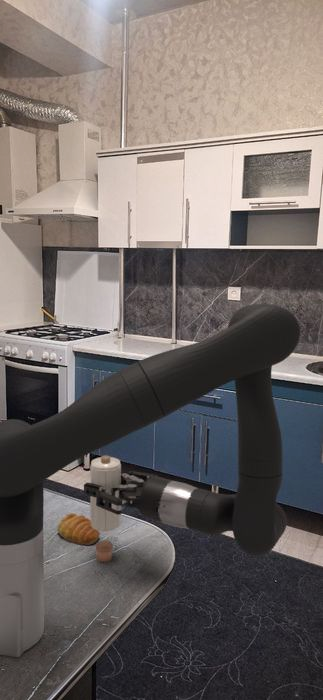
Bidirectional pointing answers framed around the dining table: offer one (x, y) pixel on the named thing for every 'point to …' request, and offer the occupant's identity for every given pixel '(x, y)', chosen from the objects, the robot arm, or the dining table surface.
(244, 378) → the robot arm
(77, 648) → the dining table surface
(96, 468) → the ribbed lidded canister
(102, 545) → the salmon brown knob
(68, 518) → the pastry
